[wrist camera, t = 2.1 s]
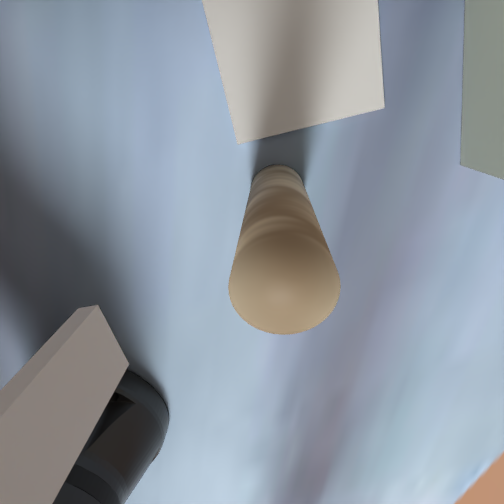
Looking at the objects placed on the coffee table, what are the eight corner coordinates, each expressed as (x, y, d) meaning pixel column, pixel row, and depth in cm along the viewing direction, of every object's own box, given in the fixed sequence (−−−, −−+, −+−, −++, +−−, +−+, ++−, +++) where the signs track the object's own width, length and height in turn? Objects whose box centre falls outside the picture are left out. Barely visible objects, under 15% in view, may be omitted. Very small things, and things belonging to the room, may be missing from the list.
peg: (257, 221, 25) (243, 341, 13) (245, 171, 24) (215, 251, 11) (307, 210, 25) (346, 325, 12) (298, 158, 23) (332, 228, 10)
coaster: (238, 143, 23) (237, 144, 22) (195, -30, 19) (193, -33, 18) (382, 107, 21) (384, 107, 21) (369, -89, 17) (371, -93, 17)
